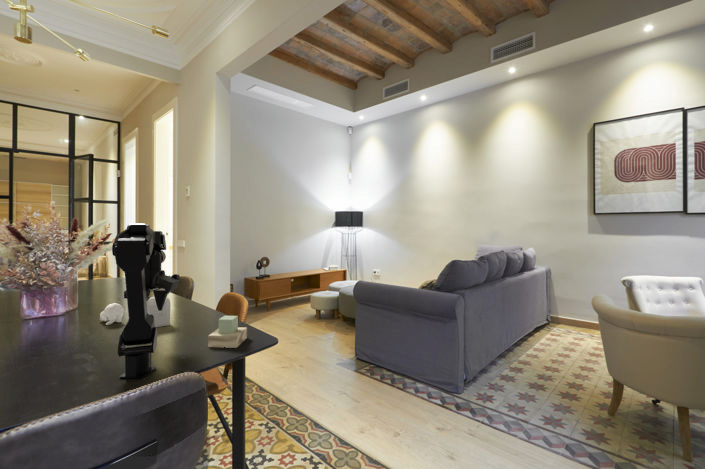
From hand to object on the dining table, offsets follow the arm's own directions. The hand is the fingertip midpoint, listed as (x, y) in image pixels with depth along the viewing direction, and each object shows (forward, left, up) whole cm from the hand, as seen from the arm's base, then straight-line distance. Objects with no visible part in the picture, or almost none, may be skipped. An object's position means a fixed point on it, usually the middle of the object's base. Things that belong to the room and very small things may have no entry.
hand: (151, 314), depth 111 cm
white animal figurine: (+28, +37, -12) cm, 48 cm away
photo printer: (+24, +14, -12) cm, 30 cm away
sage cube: (+8, -23, -8) cm, 26 cm away
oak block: (+8, -23, -12) cm, 27 cm away
